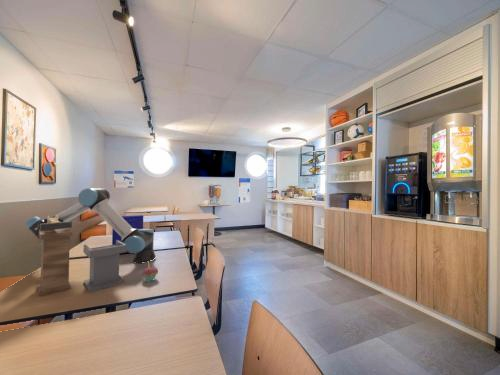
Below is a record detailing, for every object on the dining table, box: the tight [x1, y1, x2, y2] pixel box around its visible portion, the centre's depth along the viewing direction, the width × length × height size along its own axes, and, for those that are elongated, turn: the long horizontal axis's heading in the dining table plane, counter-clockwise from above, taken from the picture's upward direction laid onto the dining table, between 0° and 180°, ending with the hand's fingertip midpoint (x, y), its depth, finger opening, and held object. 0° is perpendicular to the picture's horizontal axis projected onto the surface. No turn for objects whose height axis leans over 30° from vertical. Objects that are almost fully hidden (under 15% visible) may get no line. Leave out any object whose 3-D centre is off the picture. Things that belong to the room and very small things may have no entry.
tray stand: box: [83, 240, 126, 293], centre depth 121 cm, size 15×17×22 cm
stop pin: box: [40, 217, 73, 231], centre depth 118 cm, size 24×12×3 cm, turn 48°
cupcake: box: [141, 262, 159, 282], centre depth 127 cm, size 9×8×12 cm
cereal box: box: [111, 214, 144, 255], centre depth 178 cm, size 22×6×30 cm, turn 122°
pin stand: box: [36, 228, 73, 297], centre depth 114 cm, size 14×12×30 cm
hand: (53, 217), depth 121 cm, fingers closed on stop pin, 3 cm apart
